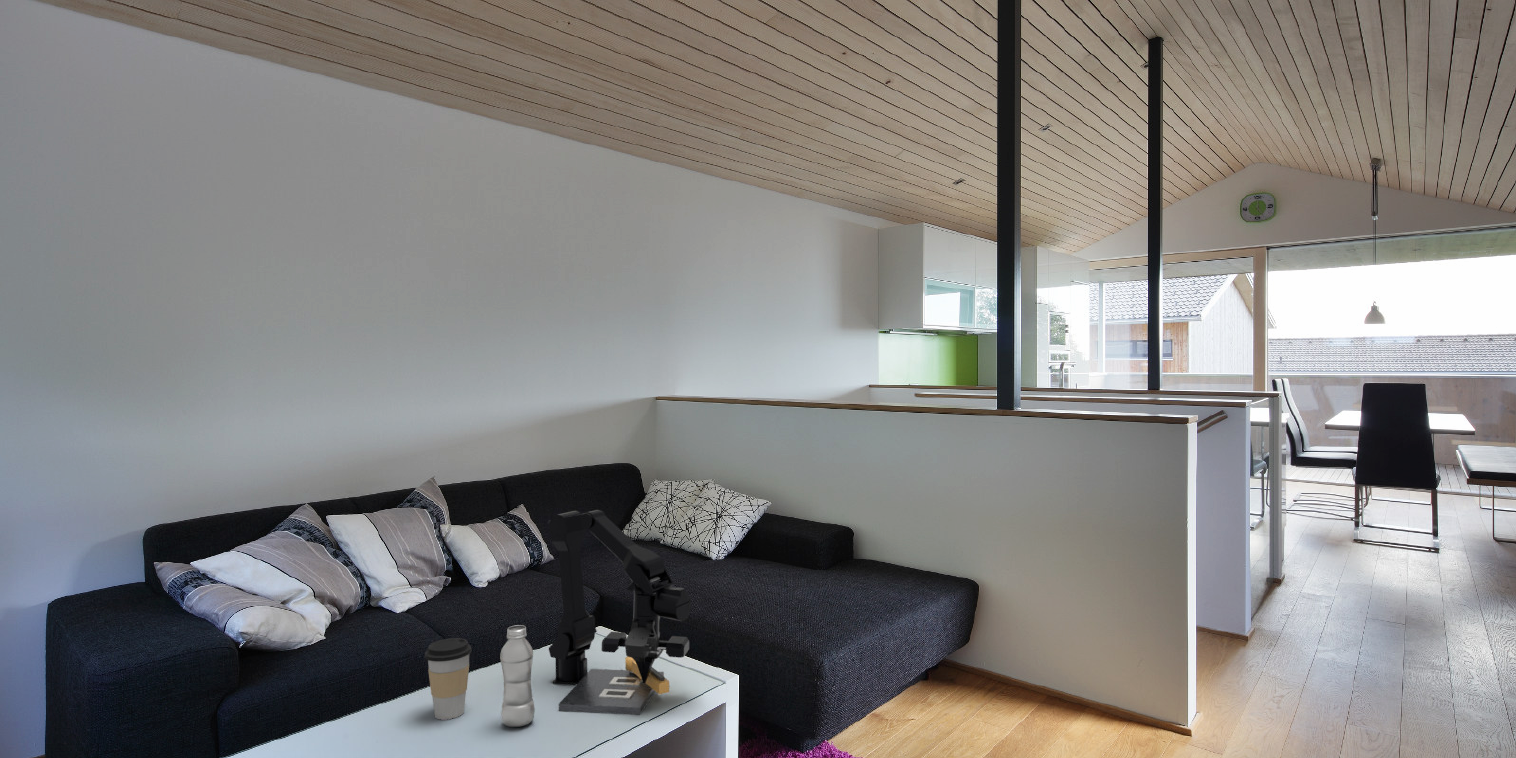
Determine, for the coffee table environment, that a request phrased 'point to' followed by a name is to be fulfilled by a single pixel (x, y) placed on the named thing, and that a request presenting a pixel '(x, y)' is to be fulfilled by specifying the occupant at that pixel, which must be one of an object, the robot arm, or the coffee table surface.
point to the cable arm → (649, 676)
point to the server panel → (608, 693)
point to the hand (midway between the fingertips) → (644, 682)
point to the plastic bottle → (517, 678)
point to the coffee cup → (448, 676)
